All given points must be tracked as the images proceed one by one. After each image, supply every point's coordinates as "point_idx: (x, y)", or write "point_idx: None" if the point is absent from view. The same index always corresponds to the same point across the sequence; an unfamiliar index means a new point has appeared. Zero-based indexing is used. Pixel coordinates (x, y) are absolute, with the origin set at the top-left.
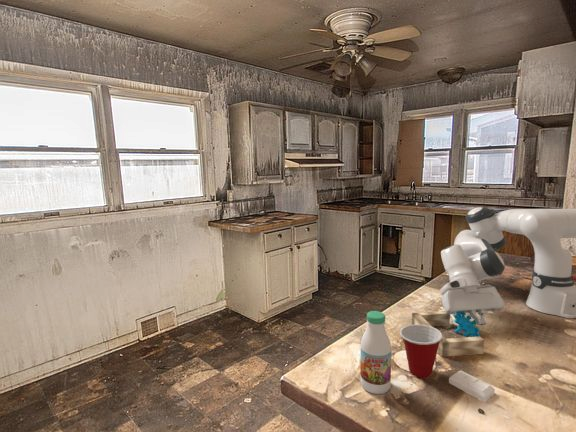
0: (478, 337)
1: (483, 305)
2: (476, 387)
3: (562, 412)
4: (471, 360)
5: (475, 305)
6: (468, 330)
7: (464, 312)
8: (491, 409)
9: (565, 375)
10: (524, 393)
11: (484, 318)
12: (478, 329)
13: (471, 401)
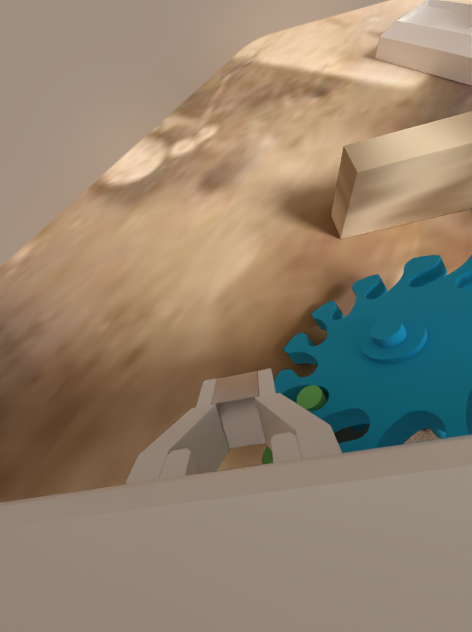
0: (370, 160)
1: (78, 539)
2: (441, 12)
3: (242, 60)
4: None
5: (261, 532)
6: (390, 302)
7: None
8: None
9: (129, 161)
10: (290, 80)
11: (202, 403)
12: (279, 384)
13: None
